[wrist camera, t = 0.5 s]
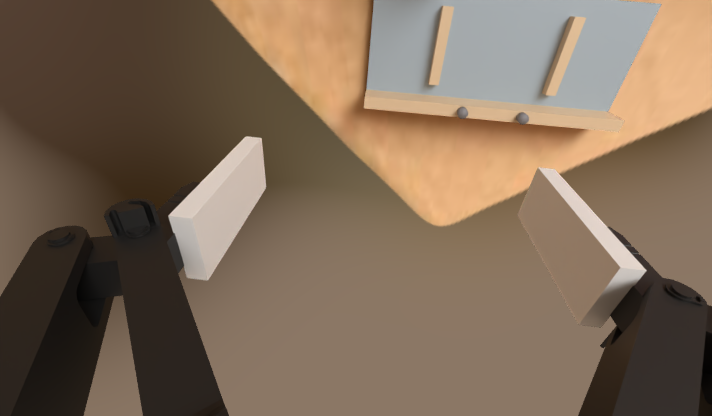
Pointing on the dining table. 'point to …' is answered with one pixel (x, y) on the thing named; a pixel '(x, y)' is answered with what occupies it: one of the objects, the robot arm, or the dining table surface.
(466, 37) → the board
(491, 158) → the dining table surface
